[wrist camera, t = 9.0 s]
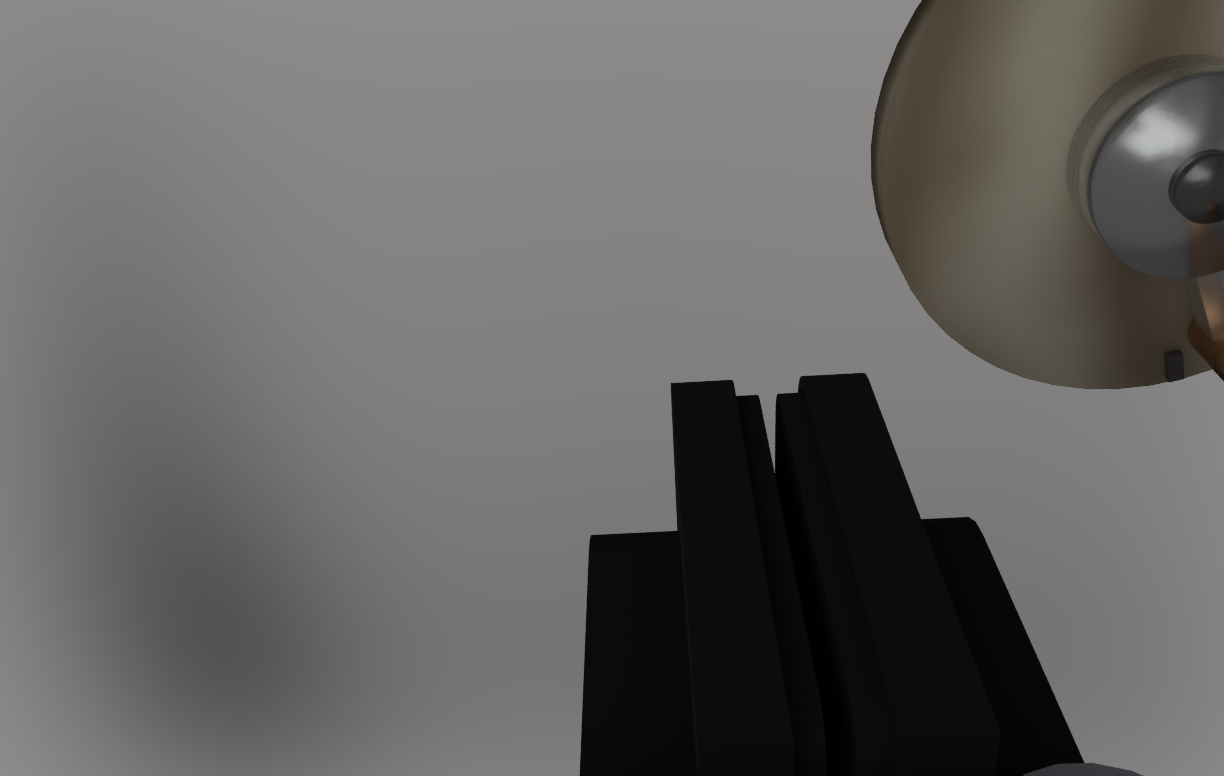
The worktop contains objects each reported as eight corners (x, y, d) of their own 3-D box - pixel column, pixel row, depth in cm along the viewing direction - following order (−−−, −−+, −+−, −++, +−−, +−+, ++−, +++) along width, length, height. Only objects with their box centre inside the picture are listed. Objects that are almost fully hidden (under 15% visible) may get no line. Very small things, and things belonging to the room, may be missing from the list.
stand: (1468, -225, 31) (1527, -222, 29) (1377, 316, 39) (1417, 347, 37) (848, -95, 32) (862, -83, 30) (889, 395, 41) (903, 430, 39)
